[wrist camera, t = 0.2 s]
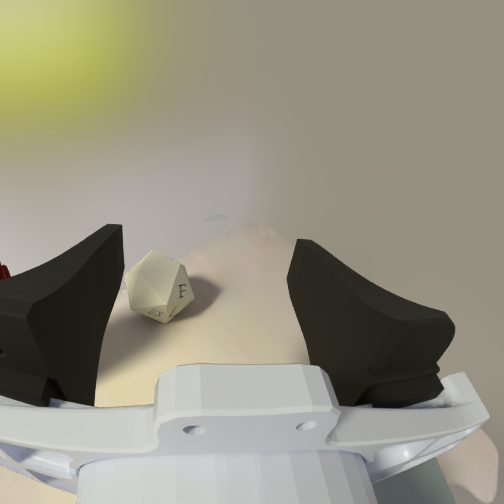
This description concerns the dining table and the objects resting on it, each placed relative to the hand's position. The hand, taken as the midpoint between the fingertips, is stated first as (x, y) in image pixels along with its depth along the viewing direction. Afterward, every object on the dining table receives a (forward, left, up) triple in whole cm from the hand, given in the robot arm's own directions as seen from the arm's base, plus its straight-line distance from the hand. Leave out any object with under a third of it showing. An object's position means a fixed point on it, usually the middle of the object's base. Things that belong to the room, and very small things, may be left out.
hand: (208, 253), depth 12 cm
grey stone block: (+21, +5, -21) cm, 30 cm away
